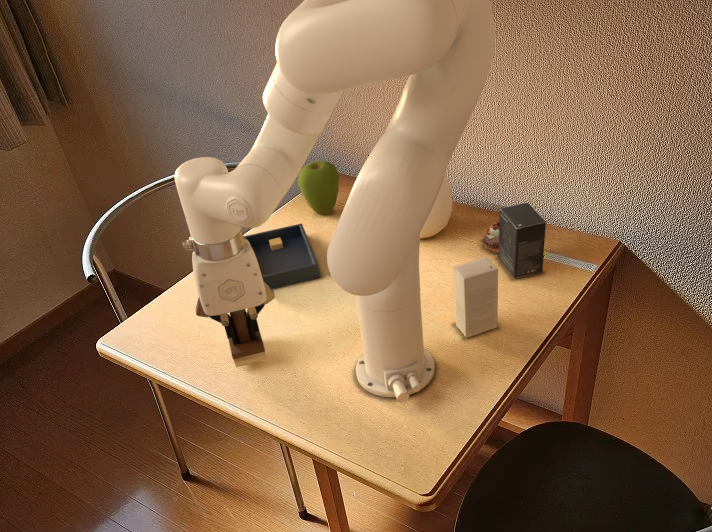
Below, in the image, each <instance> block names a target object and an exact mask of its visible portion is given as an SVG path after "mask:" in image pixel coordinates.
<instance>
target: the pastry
mask: <svg viewBox="0 0 712 532" xmlns="http://www.w3.org/2000/svg"><path fill="white" fill-rule="evenodd" d="M499 222H500V218H496V219H495V221H494V222H493V224H491V225H490V226H489V227H487V230H486V233H485V234H484V236H483V238H482V243H483V246H484V248H485V249H486V250H488V251H489V252H491V253H495V254H499Z"/></svg>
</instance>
